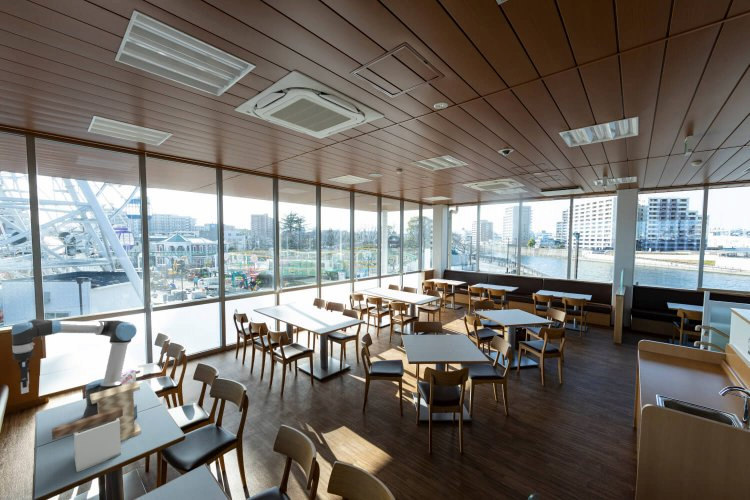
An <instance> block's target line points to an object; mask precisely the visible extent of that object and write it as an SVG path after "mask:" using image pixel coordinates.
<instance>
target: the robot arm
mask: <svg viewBox="0 0 750 500" xmlns="http://www.w3.org/2000/svg"><path fill="white" fill-rule="evenodd" d="M137 331H138V330H137V327H136V326H135V325H134V324H133V323H131V322H128V321H123V320H122V321H121V320H98V321H83V320H82V321H79V320H78V321H77V320H58V319H57V320H55V319H50V320H49V319H40V318H33V319H30V320H28V321H27V322H20V323H15V324H13V325H12V326H11V334H10V335H11V339H12V340H11V341H12V342H11V343H12V344H11V346H12V353H13V354H12V359H13V360H14V361H18V363H17V365H18V370H19V371H20V380H19V381H18V383H19V384H20V394H21V395H22V394H26V393H29V392H30V391H29V390H30V388H29V384H30V375H29V373H30V372H31V369H29V368H30V358H32V357H34V356H35V355H34V353H35V352H34V346H35V345H36V343H35V342H34V339H36V338H37V339H38V338H41V337H42V338H43V337H46V336H50V335H55V334H95V335H96V336H105V337H108V338H109V340H108V341H109V344H110V345H111V346H110V351H109V355H108V359H107V364H106V369H105V372H104V373H105V374H104V378H100V379H97V380H94V381H91V382H88V383H87V384H86V386H85V397H86V399H85V400H86V406H85V410H84V413H83V415H82V416H83V418H82V419H84V418H87V417H90V416H94V415H97V414H98V405H97V403H94V404H92V402H91V399H90V394H93V393H97V392H100V391H104V390H107V389H111V388H115V387H118V386H122V381H121V380H120V378H121V373H123V367H124V363H125V358H126V353H127V349H128V346H129V345H128V344H130V343H131V342H132V339H134V337H136V335H137ZM13 360H12V361H13Z"/></svg>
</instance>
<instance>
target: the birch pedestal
mask: <svg viewBox="0 0 750 500" xmlns="http://www.w3.org/2000/svg"><path fill="white" fill-rule="evenodd" d="M140 390H141V387H140V384H139V383H138V382H137V381H136V382H133V383H129V384H125V385H122V386H118V387H115V388H111V389H107V390H104V391H100V392H97V393H93V394H90V399H91V402H92V404H94V403H97V405H98V414H100V413H103V412H106V411H109V410H112V409H116V408H119V407H122V409H123V416H121V417H119V420H120V442H122V441H124V440H128V439H130V438H133V437H135V436H138V435H141V434H142V429H141V427H140V425H139V423H136V424H135V421H134V405H135V403H134V402H135V401H134V400H135V399H134V396H135V395H134V392H137V391H140Z"/></svg>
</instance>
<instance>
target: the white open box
mask: <svg viewBox="0 0 750 500" xmlns="http://www.w3.org/2000/svg"><path fill="white" fill-rule="evenodd" d="M121 442H122V441H120V420H119V417H118V418H116V419H113V420H110V421H107V422H104V423H101V424H98V425H95V426H92V427H89V428H86V429H83V430H80V431H77V432H74V433H73V449H74V450H73V451H74V452H73V453H74V465H75V472H76V473H79V472H81V471H84V470H86V469H89V468H91V467H94V466H96V465H99V464H101V463H104V462H106V461H108V460H111V459H113V458H116V457H118V456H121V455H122V448H121V447H122V445H121Z"/></svg>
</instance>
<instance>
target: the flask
mask: <svg viewBox="0 0 750 500" xmlns="http://www.w3.org/2000/svg"><path fill="white" fill-rule="evenodd" d="M137 419H138V405H137V404H136V403H134V422H135V421H136V420H137Z"/></svg>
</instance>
